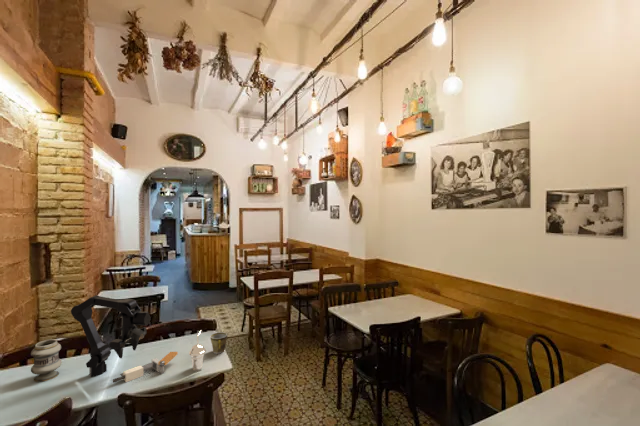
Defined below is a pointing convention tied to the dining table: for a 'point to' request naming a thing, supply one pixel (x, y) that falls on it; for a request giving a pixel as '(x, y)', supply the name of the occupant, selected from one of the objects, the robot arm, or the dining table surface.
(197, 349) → the cup with straw
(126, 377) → the plug
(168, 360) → the copper metal plate
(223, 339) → the ceramic cup
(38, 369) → the apothecary jar
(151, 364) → the grey piece
